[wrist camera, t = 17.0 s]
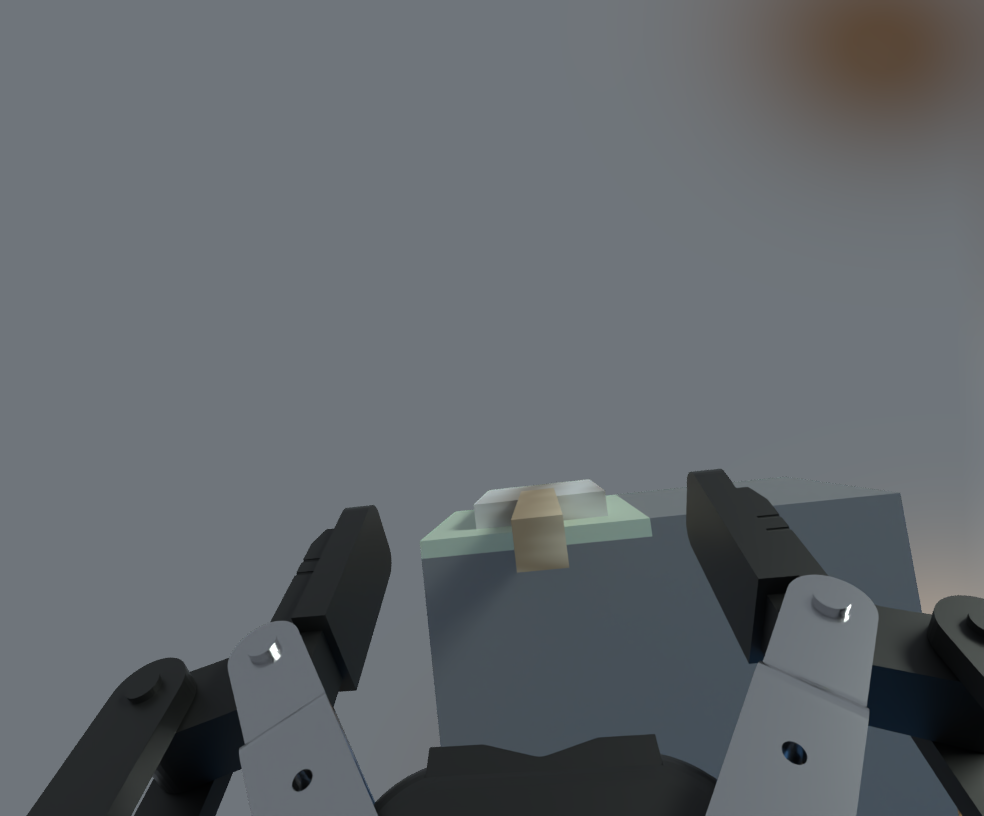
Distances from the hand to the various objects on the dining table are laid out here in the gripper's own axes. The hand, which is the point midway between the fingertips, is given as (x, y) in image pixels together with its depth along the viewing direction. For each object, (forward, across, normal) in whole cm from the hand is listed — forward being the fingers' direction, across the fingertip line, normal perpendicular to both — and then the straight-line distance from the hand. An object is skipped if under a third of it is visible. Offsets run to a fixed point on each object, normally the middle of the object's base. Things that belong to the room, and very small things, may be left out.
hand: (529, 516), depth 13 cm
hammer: (+14, 0, +11) cm, 18 cm away
